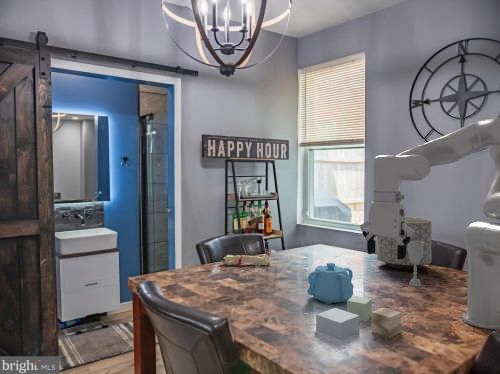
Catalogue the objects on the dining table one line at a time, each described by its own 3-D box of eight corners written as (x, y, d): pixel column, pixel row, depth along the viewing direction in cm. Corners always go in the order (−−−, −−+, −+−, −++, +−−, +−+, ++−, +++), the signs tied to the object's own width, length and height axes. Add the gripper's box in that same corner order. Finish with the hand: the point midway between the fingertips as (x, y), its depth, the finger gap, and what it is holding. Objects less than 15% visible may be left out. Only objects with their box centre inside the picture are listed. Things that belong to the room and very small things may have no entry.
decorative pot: (301, 302, 146) (301, 265, 145) (318, 290, 159) (317, 257, 159) (345, 309, 137) (345, 270, 136) (358, 297, 151) (358, 261, 150)
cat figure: (269, 265, 209) (223, 261, 211) (271, 249, 209) (224, 244, 211) (269, 270, 199) (220, 265, 202) (270, 253, 199) (221, 248, 201)
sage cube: (371, 317, 130) (371, 298, 130) (365, 322, 125) (365, 303, 125) (353, 313, 133) (353, 295, 133) (347, 318, 128) (347, 300, 128)
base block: (359, 332, 118) (359, 315, 118) (340, 340, 112) (340, 322, 112) (335, 323, 125) (335, 307, 125) (316, 330, 119) (316, 314, 119)
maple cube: (400, 332, 117) (401, 312, 117) (389, 338, 113) (390, 317, 113) (382, 326, 122) (382, 307, 121) (371, 331, 118) (371, 311, 118)
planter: (427, 276, 180) (427, 223, 179) (371, 269, 193) (371, 220, 192) (434, 265, 201) (434, 218, 201) (383, 260, 214) (383, 215, 214)
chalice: (425, 287, 162) (426, 243, 162) (408, 286, 164) (408, 243, 163) (421, 282, 170) (422, 240, 169) (405, 282, 171) (405, 240, 170)
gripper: (421, 198, 112) (420, 259, 112) (368, 196, 125) (367, 250, 126) (408, 199, 107) (407, 263, 108) (354, 197, 120) (353, 253, 121)
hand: (385, 256), depth 117 cm, fingers open, 9 cm apart
